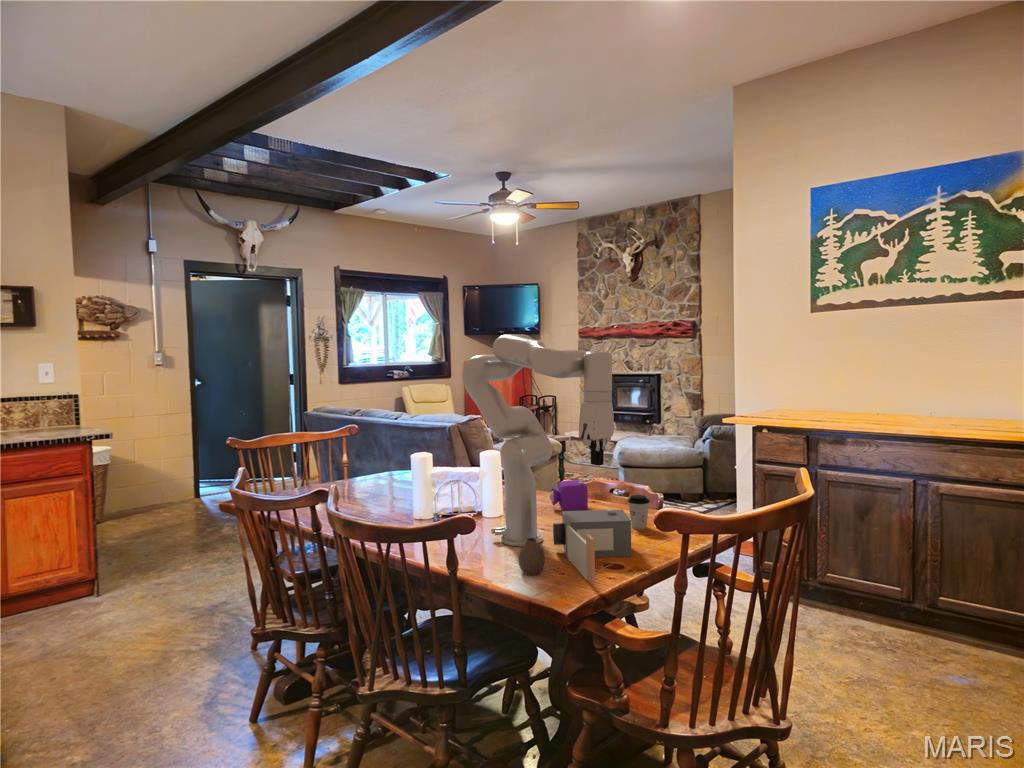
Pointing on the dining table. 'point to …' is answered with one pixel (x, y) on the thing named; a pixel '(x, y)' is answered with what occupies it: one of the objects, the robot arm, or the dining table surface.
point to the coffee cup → (638, 511)
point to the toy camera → (570, 495)
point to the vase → (531, 557)
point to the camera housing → (598, 530)
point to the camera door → (581, 553)
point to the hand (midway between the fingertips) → (597, 464)
